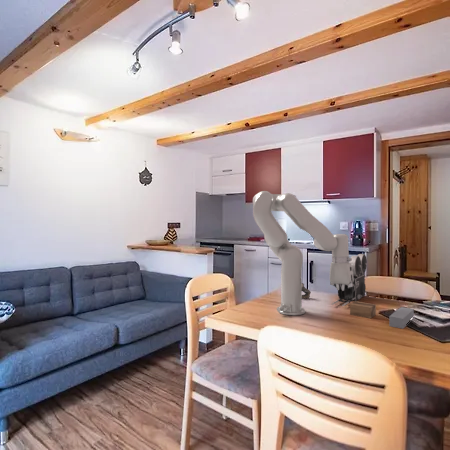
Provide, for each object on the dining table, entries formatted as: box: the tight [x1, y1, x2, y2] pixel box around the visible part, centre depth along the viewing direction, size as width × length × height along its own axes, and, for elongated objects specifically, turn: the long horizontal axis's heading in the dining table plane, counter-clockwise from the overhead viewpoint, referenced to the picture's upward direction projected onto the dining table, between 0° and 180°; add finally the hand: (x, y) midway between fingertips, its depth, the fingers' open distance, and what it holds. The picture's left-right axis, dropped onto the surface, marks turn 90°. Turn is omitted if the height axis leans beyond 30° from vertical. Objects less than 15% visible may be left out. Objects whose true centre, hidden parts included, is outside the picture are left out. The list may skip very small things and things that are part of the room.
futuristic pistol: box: [302, 282, 311, 299], centre depth 177 cm, size 2×15×10 cm, turn 82°
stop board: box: [388, 306, 415, 330], centre depth 134 cm, size 18×5×4 cm, turn 138°
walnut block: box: [349, 300, 377, 319], centre depth 145 cm, size 7×9×5 cm
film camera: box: [331, 253, 368, 307], centre depth 172 cm, size 40×12×24 cm, turn 141°
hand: (341, 298), depth 152 cm, fingers closed
